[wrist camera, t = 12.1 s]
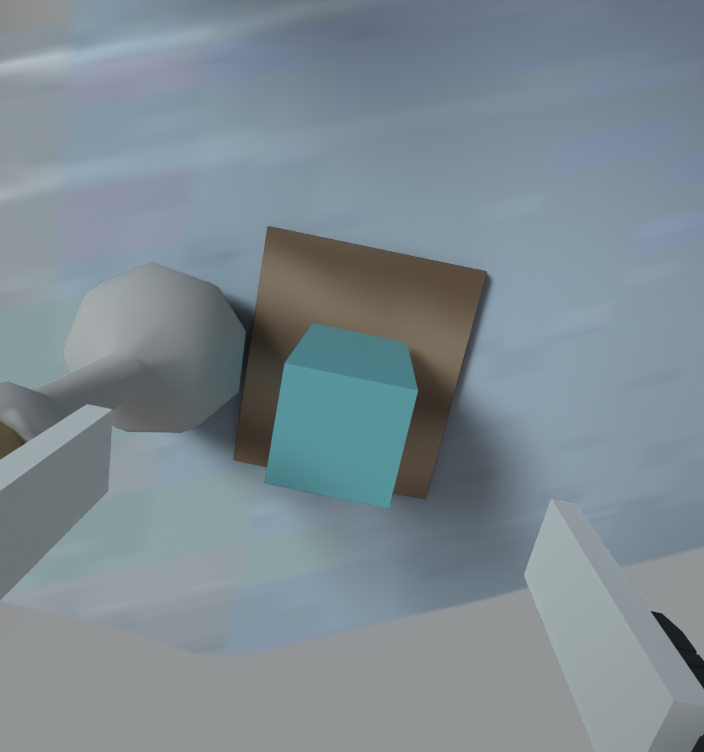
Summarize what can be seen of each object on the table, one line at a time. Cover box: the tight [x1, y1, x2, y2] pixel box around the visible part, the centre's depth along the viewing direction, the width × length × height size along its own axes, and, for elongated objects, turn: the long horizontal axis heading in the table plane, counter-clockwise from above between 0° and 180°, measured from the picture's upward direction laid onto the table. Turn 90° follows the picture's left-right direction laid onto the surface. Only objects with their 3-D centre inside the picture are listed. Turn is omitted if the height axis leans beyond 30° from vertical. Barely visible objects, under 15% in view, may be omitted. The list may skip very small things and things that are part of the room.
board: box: [234, 226, 487, 499], centre depth 30 cm, size 14×12×1 cm
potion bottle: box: [0, 262, 246, 460], centre depth 22 cm, size 9×9×18 cm
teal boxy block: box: [265, 323, 418, 509], centre depth 25 cm, size 5×5×9 cm
